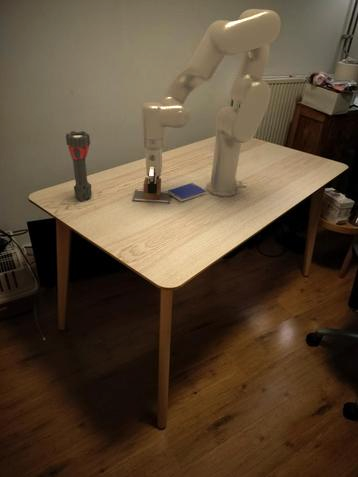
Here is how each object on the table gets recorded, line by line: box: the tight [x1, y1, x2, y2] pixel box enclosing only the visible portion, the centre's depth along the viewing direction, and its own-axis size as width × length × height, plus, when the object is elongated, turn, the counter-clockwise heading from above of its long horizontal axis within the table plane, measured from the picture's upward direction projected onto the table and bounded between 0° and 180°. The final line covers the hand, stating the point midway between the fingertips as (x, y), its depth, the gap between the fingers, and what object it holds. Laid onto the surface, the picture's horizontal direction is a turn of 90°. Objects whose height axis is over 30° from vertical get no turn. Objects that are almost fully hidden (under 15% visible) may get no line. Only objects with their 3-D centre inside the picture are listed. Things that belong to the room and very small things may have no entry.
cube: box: [142, 176, 162, 200], centre depth 122 cm, size 6×6×6 cm
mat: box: [131, 188, 172, 205], centre depth 124 cm, size 14×9×1 cm, turn 89°
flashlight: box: [65, 130, 92, 202], centre depth 115 cm, size 8×8×23 cm
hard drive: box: [167, 182, 207, 202], centre depth 127 cm, size 2×8×12 cm
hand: (153, 187), depth 122 cm, fingers open, 9 cm apart
